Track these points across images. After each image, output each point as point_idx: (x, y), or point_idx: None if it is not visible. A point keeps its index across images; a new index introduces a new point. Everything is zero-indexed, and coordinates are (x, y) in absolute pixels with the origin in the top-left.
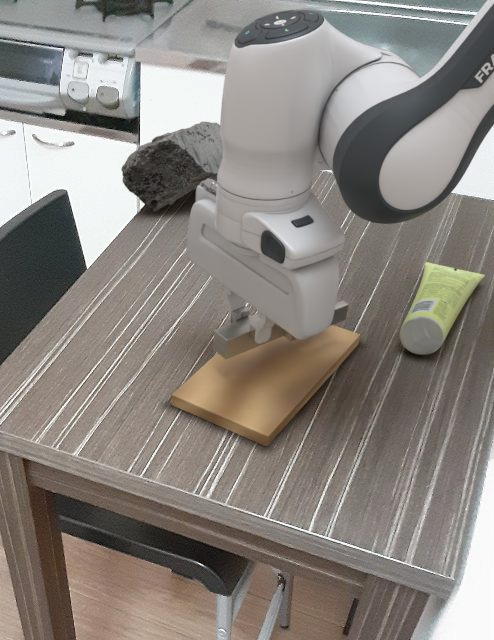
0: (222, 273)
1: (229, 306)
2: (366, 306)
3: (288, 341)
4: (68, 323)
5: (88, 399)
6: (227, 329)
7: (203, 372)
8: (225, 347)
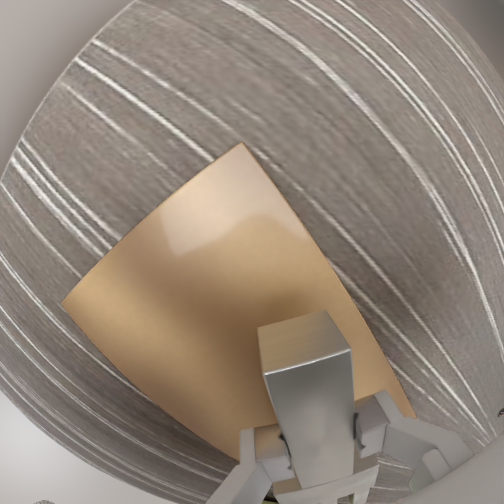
0: (488, 497)
1: (405, 425)
2: None
3: None
4: (501, 99)
5: (317, 11)
6: (327, 390)
7: (304, 257)
8: (266, 350)
